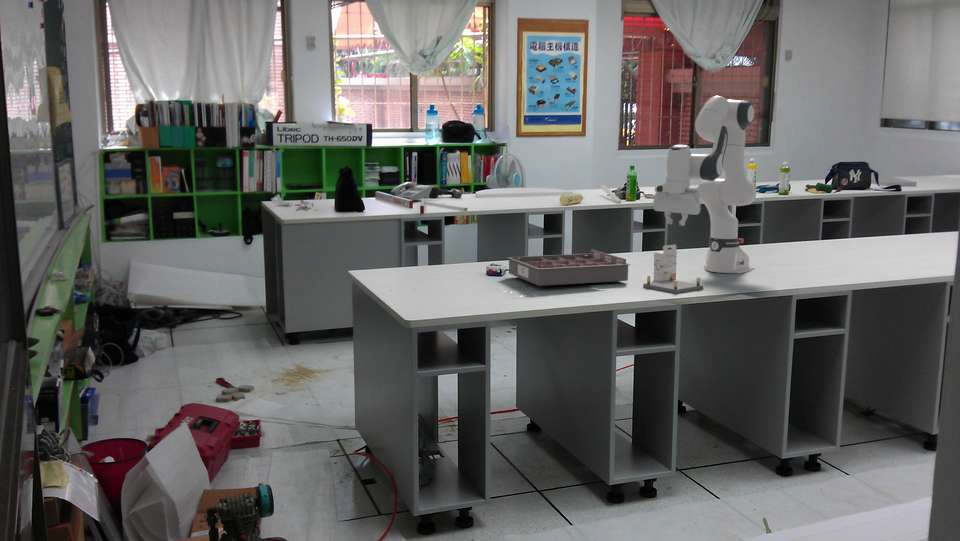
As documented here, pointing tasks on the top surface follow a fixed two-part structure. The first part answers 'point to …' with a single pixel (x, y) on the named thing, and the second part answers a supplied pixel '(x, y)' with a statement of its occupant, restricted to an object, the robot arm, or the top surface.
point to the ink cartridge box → (665, 263)
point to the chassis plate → (673, 285)
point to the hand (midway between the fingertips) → (675, 224)
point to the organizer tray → (569, 268)
